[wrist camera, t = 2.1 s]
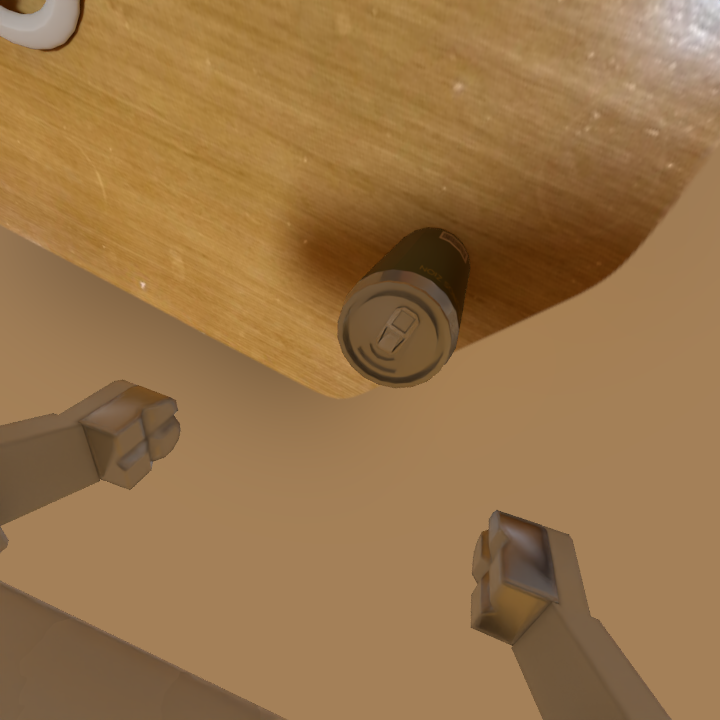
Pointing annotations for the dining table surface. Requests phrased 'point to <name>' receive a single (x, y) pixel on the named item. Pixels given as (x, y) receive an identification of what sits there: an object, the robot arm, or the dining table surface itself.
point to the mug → (41, 24)
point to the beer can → (407, 310)
